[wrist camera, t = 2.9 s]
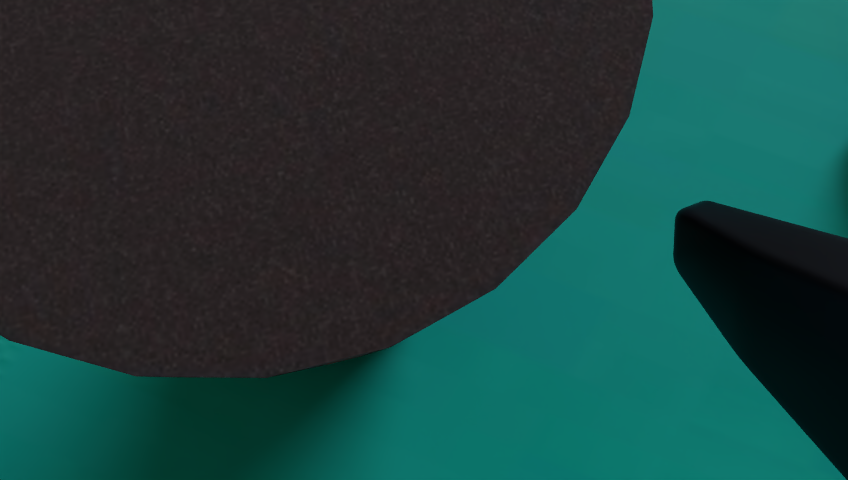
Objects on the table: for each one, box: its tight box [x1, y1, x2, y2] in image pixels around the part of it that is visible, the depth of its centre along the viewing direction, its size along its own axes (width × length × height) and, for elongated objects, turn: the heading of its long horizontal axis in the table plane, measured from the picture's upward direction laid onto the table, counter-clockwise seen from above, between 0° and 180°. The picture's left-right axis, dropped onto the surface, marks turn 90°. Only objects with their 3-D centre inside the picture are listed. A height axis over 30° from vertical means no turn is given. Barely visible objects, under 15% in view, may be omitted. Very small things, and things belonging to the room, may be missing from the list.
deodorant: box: [0, 0, 653, 378], centre depth 12 cm, size 6×6×15 cm
